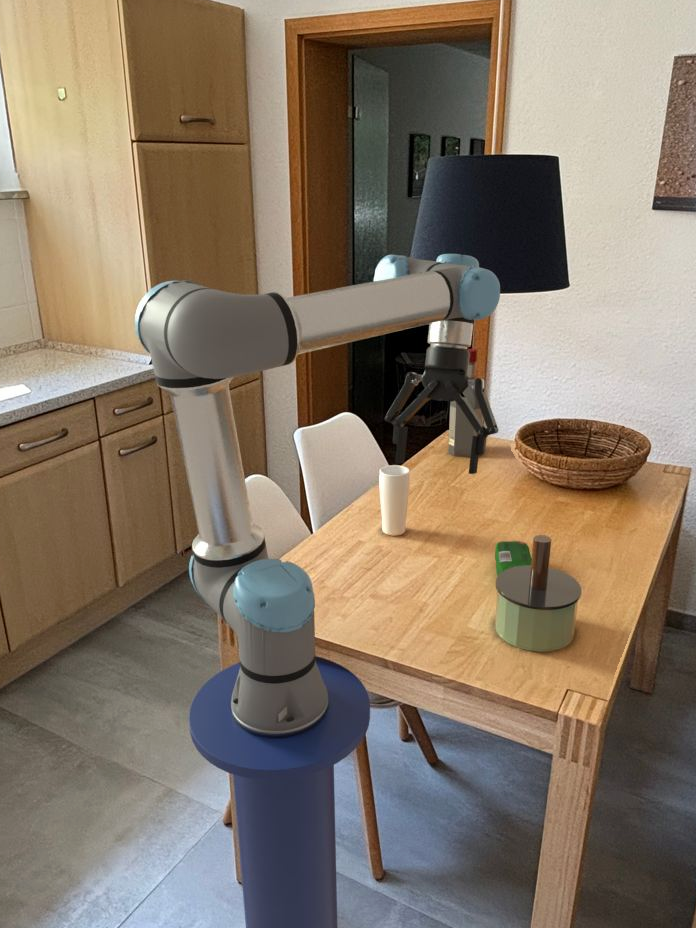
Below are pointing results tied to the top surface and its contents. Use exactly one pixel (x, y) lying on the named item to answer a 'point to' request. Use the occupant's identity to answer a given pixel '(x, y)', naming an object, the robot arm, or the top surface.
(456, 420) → the liquor
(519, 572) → the lid
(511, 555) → the snack package
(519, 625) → the pot
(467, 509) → the top surface
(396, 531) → the drinking glass
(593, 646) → the top surface
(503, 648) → the top surface
